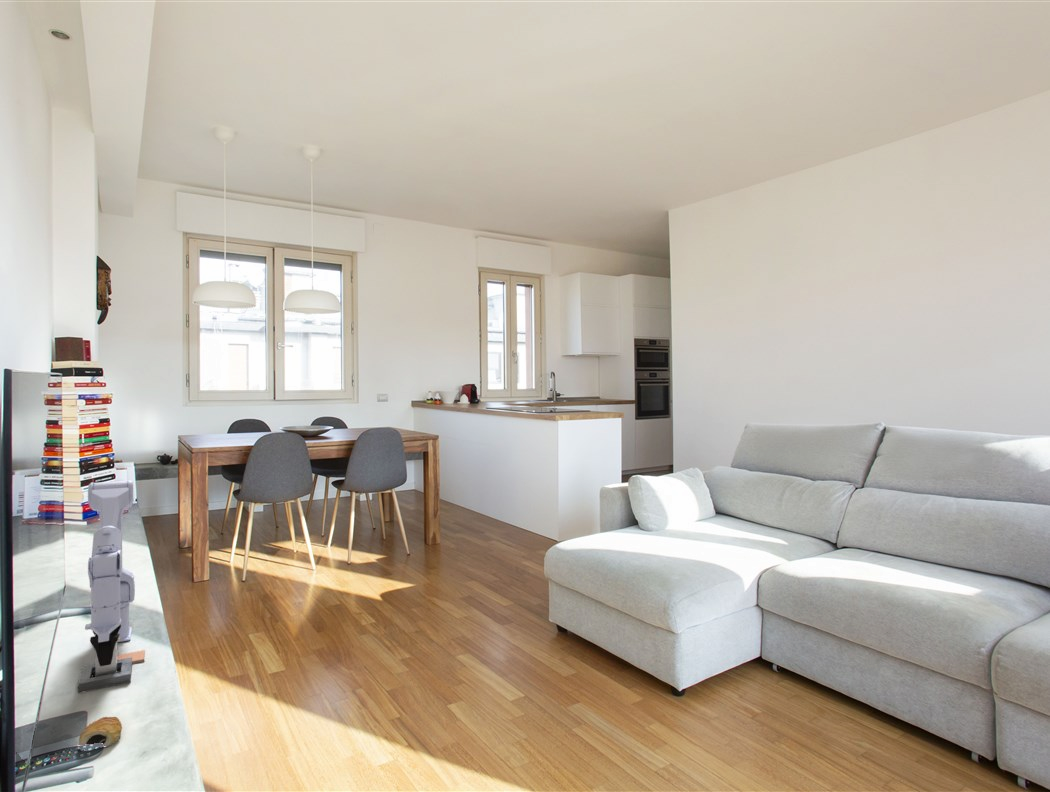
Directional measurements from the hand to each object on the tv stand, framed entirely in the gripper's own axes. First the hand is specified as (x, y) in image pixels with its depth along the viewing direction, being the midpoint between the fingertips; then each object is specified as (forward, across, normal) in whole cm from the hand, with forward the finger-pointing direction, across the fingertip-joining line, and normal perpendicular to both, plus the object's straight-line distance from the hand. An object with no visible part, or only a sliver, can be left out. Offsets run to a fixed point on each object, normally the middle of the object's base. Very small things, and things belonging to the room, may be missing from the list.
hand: (106, 661), depth 147 cm
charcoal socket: (+4, 0, 0) cm, 4 cm away
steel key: (+3, 0, 0) cm, 3 cm away
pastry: (+4, +29, +1) cm, 30 cm away
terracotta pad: (+4, -9, +4) cm, 11 cm away
